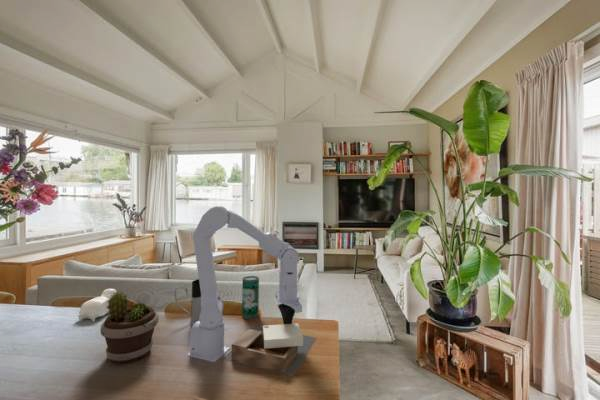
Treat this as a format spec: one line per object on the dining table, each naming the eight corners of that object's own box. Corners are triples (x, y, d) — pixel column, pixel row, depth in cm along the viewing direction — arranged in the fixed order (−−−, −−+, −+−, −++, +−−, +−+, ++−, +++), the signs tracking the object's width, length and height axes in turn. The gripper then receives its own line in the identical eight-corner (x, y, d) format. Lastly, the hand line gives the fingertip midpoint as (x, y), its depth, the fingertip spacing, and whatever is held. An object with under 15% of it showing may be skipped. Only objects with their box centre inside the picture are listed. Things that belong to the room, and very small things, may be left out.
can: (240, 318, 108) (240, 279, 108) (245, 312, 114) (246, 275, 114) (255, 319, 107) (255, 280, 107) (259, 313, 113) (260, 276, 113)
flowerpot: (160, 338, 92) (161, 277, 92) (154, 363, 78) (155, 292, 78) (108, 345, 87) (109, 281, 87) (92, 374, 72) (93, 298, 72)
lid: (264, 348, 77) (264, 339, 77) (262, 333, 86) (263, 325, 86) (303, 345, 79) (303, 336, 79) (297, 330, 88) (297, 322, 88)
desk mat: (221, 360, 79) (221, 359, 79) (258, 327, 100) (258, 326, 100) (292, 378, 72) (292, 376, 72) (316, 338, 93) (316, 337, 93)
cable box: (231, 360, 79) (231, 344, 79) (249, 343, 88) (249, 329, 88) (284, 373, 73) (285, 356, 73) (297, 354, 83) (298, 338, 83)
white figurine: (100, 328, 104) (126, 300, 118) (93, 311, 101) (121, 284, 115) (78, 327, 105) (106, 299, 119) (71, 310, 102) (101, 283, 116)
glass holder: (213, 324, 102) (213, 284, 102) (171, 328, 99) (172, 286, 99) (214, 315, 110) (215, 277, 110) (176, 318, 107) (177, 279, 107)
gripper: (311, 289, 84) (310, 333, 84) (288, 277, 97) (288, 316, 97) (290, 292, 80) (289, 339, 80) (270, 279, 93) (269, 320, 93)
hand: (287, 327), depth 88 cm, fingers closed, pressing on lid
